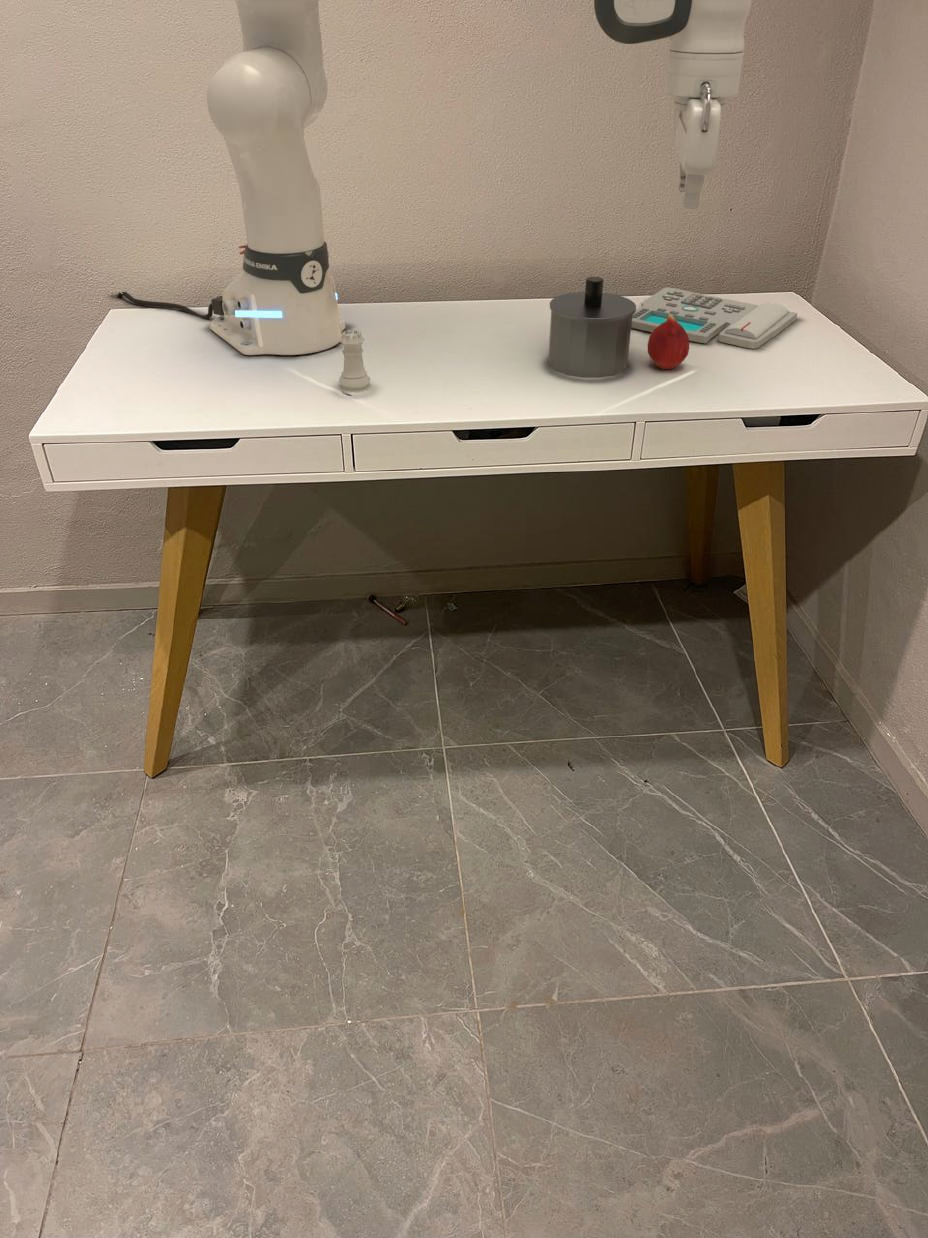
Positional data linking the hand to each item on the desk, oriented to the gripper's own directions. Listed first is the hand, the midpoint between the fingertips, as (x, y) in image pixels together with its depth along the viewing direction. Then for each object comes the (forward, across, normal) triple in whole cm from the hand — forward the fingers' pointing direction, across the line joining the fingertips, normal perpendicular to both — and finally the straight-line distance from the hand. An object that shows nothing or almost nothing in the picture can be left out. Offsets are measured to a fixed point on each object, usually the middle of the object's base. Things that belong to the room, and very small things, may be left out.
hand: (687, 199), depth 126 cm
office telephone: (+23, +22, -8) cm, 33 cm away
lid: (+15, 0, +11) cm, 18 cm away
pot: (+23, 0, +11) cm, 26 cm away
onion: (+23, 0, 0) cm, 23 cm away
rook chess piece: (+23, -13, +43) cm, 50 cm away
